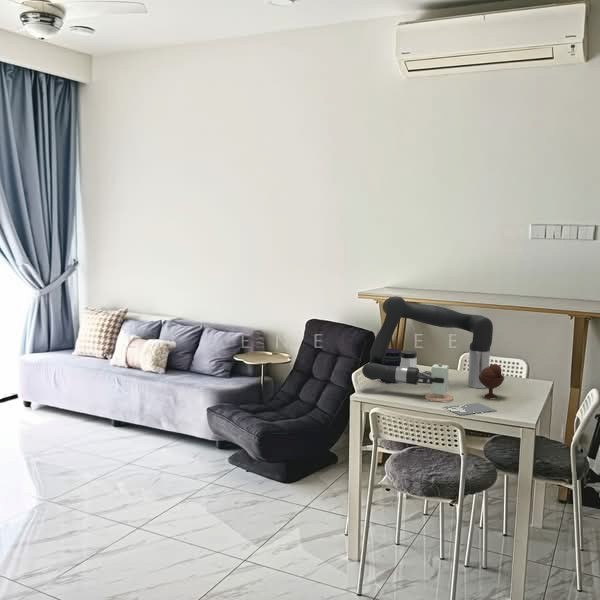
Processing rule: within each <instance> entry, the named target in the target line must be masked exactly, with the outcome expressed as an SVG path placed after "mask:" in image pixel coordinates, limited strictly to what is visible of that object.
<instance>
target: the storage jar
mask: <svg viewBox="0 0 600 600" xmlns="http://www.w3.org/2000/svg"><path fill="white" fill-rule="evenodd" d="M401 351H402V350H401V349H397V348H388V350H387V353H386V356H385V358H384V363H383V365H387V366H400V363H401ZM380 380H381V381H382V382H381V381H380ZM379 381H380V382H381V383H383V382H385V383H384V384H391V383H393V384H400V383H399V382H392V381H386V380H383V379H379Z"/></svg>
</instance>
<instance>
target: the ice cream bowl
mask: <svg viewBox="0 0 600 600" xmlns="http://www.w3.org/2000/svg"><path fill="white" fill-rule="evenodd" d="M502 372H503V371H502V367H501V366H500V365H499V364H496V363H493V364H492V363H491V364H489V367H486V368H484V369H483V370H482V372H481V374H480V375H479V380H480V382H481V383H482V384H483V385H484V386H486V387H487V388H488V392H487V393H486V394H485V395H484V396H485V397H487V398H486V399H489V398H495V399H497V398H498V396H497V395H496V394H494V390H495V389H496V388H498V387H500V385H502V384H503V382H504V380H505V376H504V375H503V374H502ZM485 397H484V398H485Z"/></svg>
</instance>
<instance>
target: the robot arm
mask: <svg viewBox="0 0 600 600" xmlns="http://www.w3.org/2000/svg"><path fill="white" fill-rule="evenodd" d="M382 311H383V312H384V314H385V318H384V319H383V323H382V325H381V327H380V329H379V330H378V333H377V335H376V336H375V338H374V341H373V343H372V346H371V349H370V351H369V356H370V358H369V360H368V361H369V362H367V363H365V364H364V365H363V366H362V368H361V369H362V370H361V371H362V374H363V376H364V377H365V378H367V379H369V380H371V381H375V380H380V379H383V380H386V381H392V382H399V383H398V384H406V385H415V386H416V385H417V386H418V384H426V385H428V384H429V385H431V384H432V383H442V384H443V383H444V378H436V377H431V370H425V371H423V372H420V369H419V368H418V367H417V368H415V367H405V366H387V365H383V363H384V358H385V356H386V353H387V350H388V349H389V347H390V344H391V341H392V339H393V336H394V333H395V331H396V329H397V326H398V324H399V322H400V320H401V319H402V318H403V319H408V320H413V321H416V322H419V323H423V324H425V325H430V326H434V327H437V328H438V327H439V328H446V329H447V328H448V329H460V330H464V331H467V332H470V333H472V341H471V342H470V344H469V357H468V376H467V377H468V378H467V379H468V380H467V382H468V383H467V386H468V387H470V388H475V389H486V388H487V387H486V386H484V385H483V384H482V383H481V382H480V380H479V375H480V374H481V372H482V370H483V369H484V368H486V367H489V366H490V357H491V356H490V355H491V347H492V343H493V334H494V325H493V322H492V320H491V319H490V318H488V317H486V316H483V315H480V314H471V313H463V312H459V311H456V310H453V309H450V308H448V307H447V308H446V307H443V306H439V305H433V304H424V303H423V304H421V303H413V302H408V301H405V300H404V298H403V297H402V296H396V295H395V296H390V297H388V298H386V299H385V300H384V302H383V303H382Z"/></svg>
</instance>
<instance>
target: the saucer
mask: <svg viewBox="0 0 600 600" xmlns="http://www.w3.org/2000/svg"><path fill="white" fill-rule="evenodd" d="M425 398H426V399H425ZM424 399H425V400H427V399H428V400H427V401H429V400H432V401H431V402H434V401H450V400H452V399H453V400H454V396H453V395H452V394H450V393H446V394H445V395H443V397H436V396H435V394H433V393H431V392H427V393H426V394H424ZM453 400H452V401H453ZM450 402H451V401H450Z"/></svg>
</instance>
